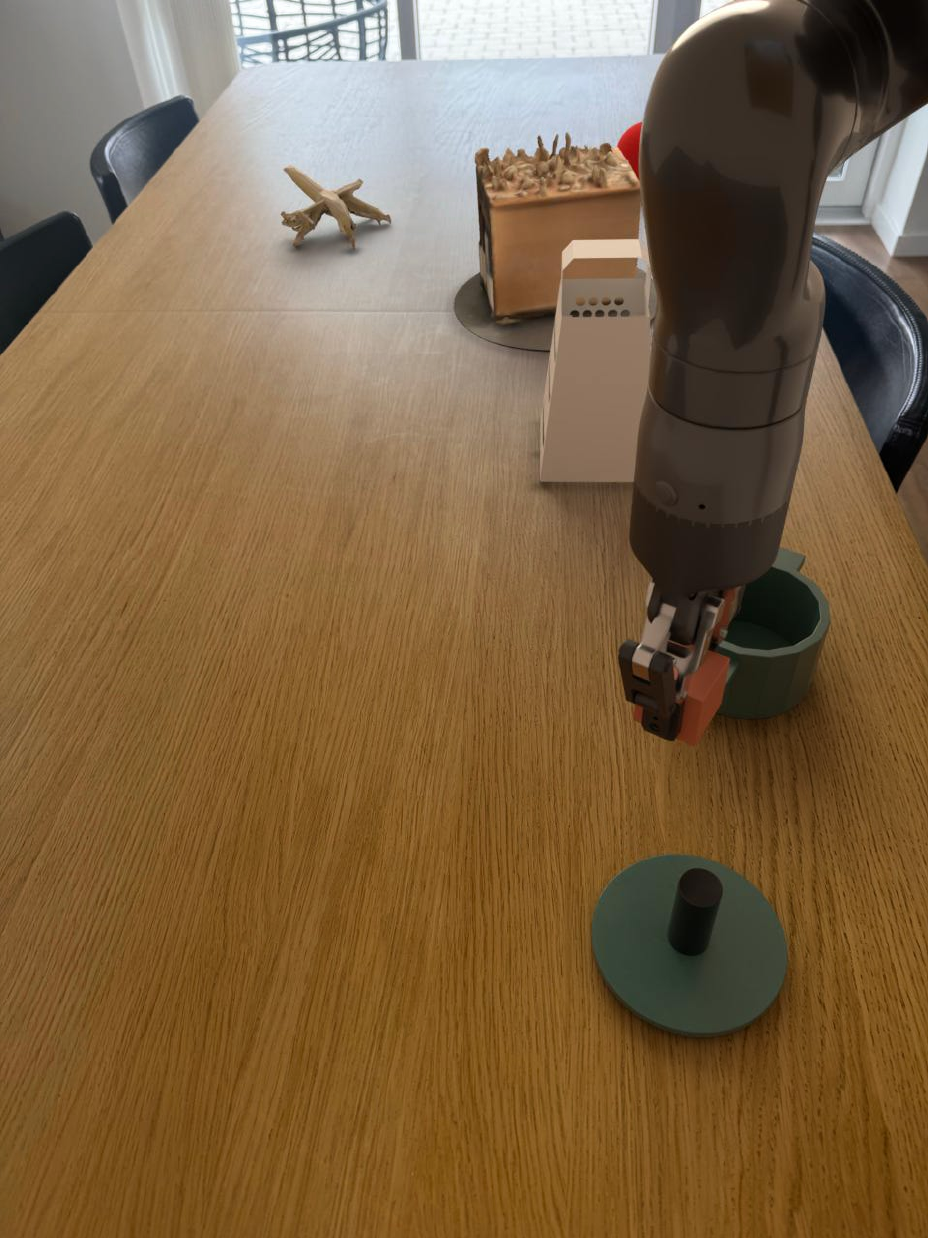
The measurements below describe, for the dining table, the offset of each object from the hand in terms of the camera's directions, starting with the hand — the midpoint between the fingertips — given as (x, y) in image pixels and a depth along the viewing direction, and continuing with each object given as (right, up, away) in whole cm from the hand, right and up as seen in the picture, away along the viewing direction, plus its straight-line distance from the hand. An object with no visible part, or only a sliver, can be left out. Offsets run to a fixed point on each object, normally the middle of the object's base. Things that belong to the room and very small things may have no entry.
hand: (676, 705), depth 58 cm
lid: (0, -14, -2) cm, 14 cm away
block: (0, 0, 0) cm, 1 cm away
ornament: (+14, +69, +85) cm, 111 cm away
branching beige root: (-32, +59, +77) cm, 102 cm away
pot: (+8, +2, +15) cm, 17 cm away
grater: (0, +22, +36) cm, 42 cm away
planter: (-2, +44, +60) cm, 74 cm away
